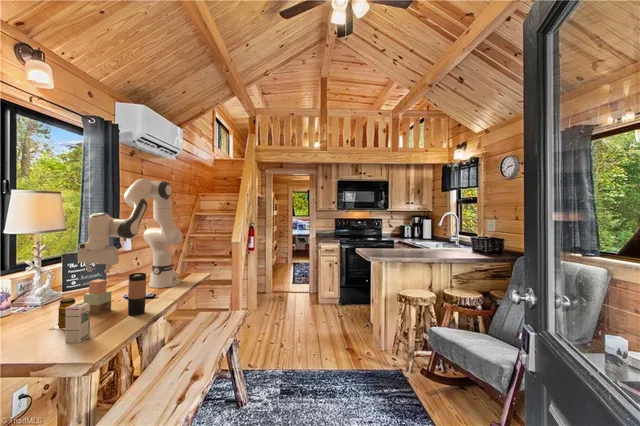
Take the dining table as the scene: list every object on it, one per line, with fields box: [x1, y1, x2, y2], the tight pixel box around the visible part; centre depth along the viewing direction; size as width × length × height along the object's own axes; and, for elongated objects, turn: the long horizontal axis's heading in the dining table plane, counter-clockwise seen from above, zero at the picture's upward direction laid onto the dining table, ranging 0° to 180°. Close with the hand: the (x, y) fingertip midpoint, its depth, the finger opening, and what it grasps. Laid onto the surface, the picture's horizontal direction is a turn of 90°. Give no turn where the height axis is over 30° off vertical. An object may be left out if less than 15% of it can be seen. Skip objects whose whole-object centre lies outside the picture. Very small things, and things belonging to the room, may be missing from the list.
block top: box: [83, 290, 112, 305], centre depth 154 cm, size 8×8×5 cm
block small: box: [88, 278, 107, 294], centre depth 153 cm, size 5×5×6 cm
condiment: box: [50, 297, 76, 330], centre depth 135 cm, size 7×8×12 cm
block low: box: [90, 300, 112, 316], centre depth 154 cm, size 8×8×5 cm
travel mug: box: [127, 272, 147, 317], centre depth 153 cm, size 8×8×20 cm
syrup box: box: [64, 301, 91, 344], centre depth 123 cm, size 6×6×14 cm
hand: (98, 272), depth 153 cm, fingers open, 8 cm apart
